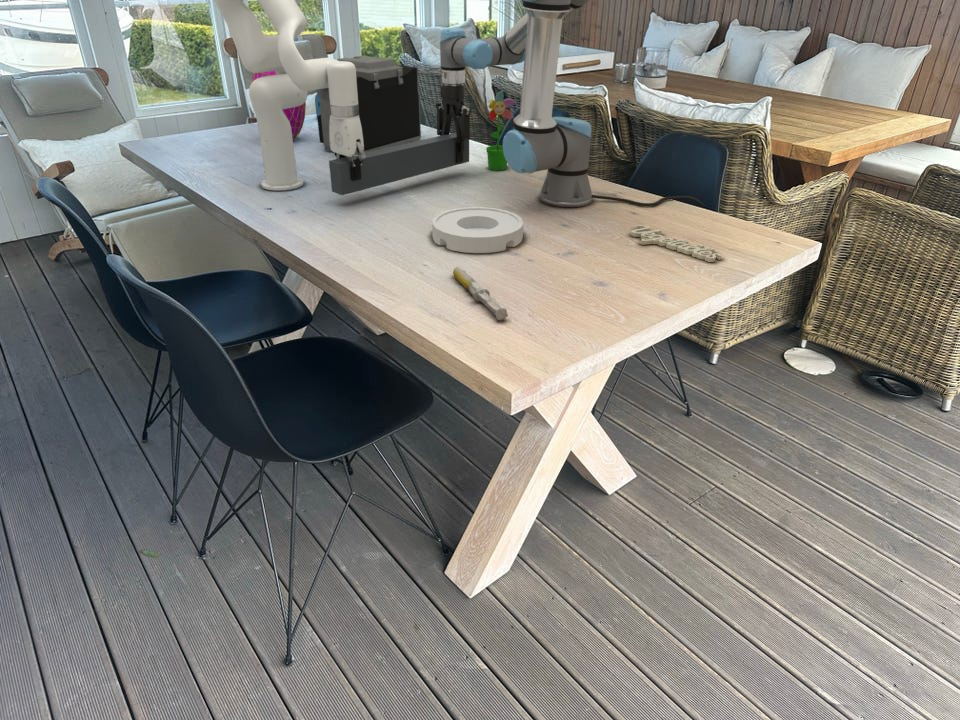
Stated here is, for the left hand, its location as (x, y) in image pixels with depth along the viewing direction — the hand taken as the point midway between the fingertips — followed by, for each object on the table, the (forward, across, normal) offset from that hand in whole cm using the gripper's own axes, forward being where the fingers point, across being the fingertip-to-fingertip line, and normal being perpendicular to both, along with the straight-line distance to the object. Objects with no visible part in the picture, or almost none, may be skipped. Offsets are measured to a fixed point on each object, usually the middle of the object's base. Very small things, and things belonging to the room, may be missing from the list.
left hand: (350, 177), depth 195 cm
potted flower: (+7, +4, +58) cm, 59 cm away
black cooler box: (+8, -50, +47) cm, 69 cm away
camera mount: (+8, -97, +66) cm, 118 cm away
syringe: (+7, +70, -20) cm, 73 cm away
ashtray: (+7, +45, +5) cm, 46 cm away
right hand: (+3, 0, +41) cm, 41 cm away
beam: (+4, 0, +21) cm, 21 cm away
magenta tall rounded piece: (+8, -80, +29) cm, 86 cm away
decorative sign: (+7, +84, +35) cm, 91 cm away
